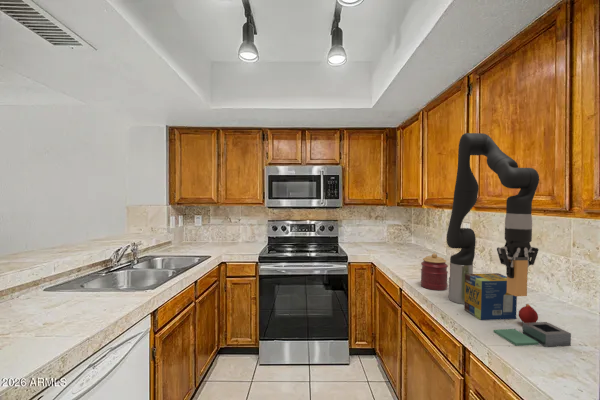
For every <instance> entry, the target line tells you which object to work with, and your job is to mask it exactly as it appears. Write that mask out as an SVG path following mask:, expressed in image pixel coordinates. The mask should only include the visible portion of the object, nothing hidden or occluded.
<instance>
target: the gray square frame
mask: <svg viewBox="0 0 600 400" xmlns="http://www.w3.org/2000/svg"><path fill="white" fill-rule="evenodd" d="M522 333H523V334H524V335H526V336H528V337H530V338H532V339H533V340H535V341H537V342H539V344H540V345H541V346H544V347H545V348H550V347H553V348H554V347H569V346H571V344H572V342H571V341H572V332H568V330H567V331H566V330H565V329H563V328H560V327H558V326H557V325H554V324H552V323H549V322H547V321H537V322H532V323H524V322H523V323H522Z"/></svg>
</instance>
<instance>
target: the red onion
mask: <svg viewBox="0 0 600 400" xmlns="http://www.w3.org/2000/svg"><path fill="white" fill-rule="evenodd" d="M518 318H519V319H520V320H521V321H522V322H523V323H532V322H538V320H539V315H538V313H537V311H536V310H535V309H534V307H532V306H531V305H530V304H528V303H526V304H525V306H522V307H521V308H519V311H518Z"/></svg>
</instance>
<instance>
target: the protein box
mask: <svg viewBox="0 0 600 400" xmlns="http://www.w3.org/2000/svg"><path fill="white" fill-rule="evenodd" d="M517 299H518V296H514V295H511V294H509V293H507V275H504V274H502V273H497V272H496V273H491V272H490V273H473V274H465V304H463V305H464V311H466V312H467V313H469V314H470V315H472V316H474V317H475V318H477V319H478V320H480V321H491V320H492V321H493V320H516V319H517V309H518V308H517V307H518V306H517V304H518V303H517V302H518V300H517Z"/></svg>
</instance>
